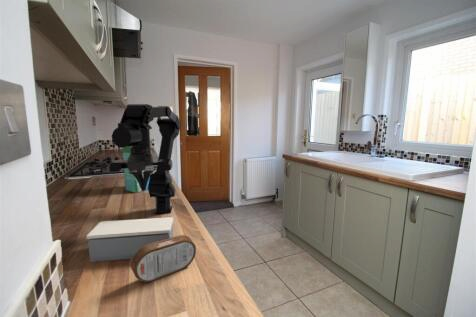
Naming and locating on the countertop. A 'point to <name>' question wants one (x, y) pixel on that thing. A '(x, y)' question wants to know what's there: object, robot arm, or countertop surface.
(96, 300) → the countertop surface
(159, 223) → the lid
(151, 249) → the tin
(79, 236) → the countertop surface
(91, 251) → the storage box
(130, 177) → the milk carton
